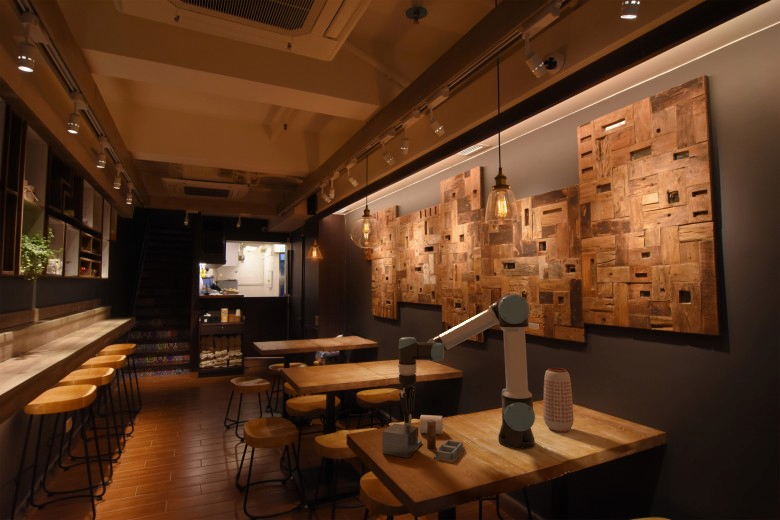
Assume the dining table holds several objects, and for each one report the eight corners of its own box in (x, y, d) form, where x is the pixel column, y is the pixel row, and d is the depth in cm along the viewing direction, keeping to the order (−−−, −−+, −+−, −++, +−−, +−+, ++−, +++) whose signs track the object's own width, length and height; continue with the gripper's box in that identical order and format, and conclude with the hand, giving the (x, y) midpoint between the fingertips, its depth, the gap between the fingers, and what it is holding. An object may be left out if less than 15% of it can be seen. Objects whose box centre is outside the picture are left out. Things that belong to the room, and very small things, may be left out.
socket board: (464, 449, 176) (464, 442, 176) (453, 462, 163) (453, 454, 163) (446, 446, 180) (446, 439, 180) (433, 459, 166) (433, 451, 167)
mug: (441, 437, 191) (441, 419, 192) (419, 435, 193) (419, 417, 194) (443, 428, 203) (443, 411, 203) (422, 427, 205) (422, 410, 205)
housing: (418, 448, 177) (418, 427, 177) (407, 458, 167) (407, 435, 167) (394, 444, 182) (394, 423, 182) (382, 453, 172) (382, 431, 172)
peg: (437, 447, 179) (436, 420, 180) (434, 450, 176) (433, 423, 176) (429, 445, 180) (428, 419, 181) (425, 448, 177) (425, 421, 178)
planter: (543, 431, 198) (541, 370, 200) (544, 423, 210) (542, 366, 212) (574, 435, 193) (572, 372, 195) (573, 426, 205) (571, 367, 207)
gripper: (405, 370, 190) (405, 424, 188) (393, 375, 178) (393, 433, 177) (421, 371, 187) (421, 426, 185) (409, 377, 175) (410, 435, 173)
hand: (407, 429), depth 181 cm, fingers closed
